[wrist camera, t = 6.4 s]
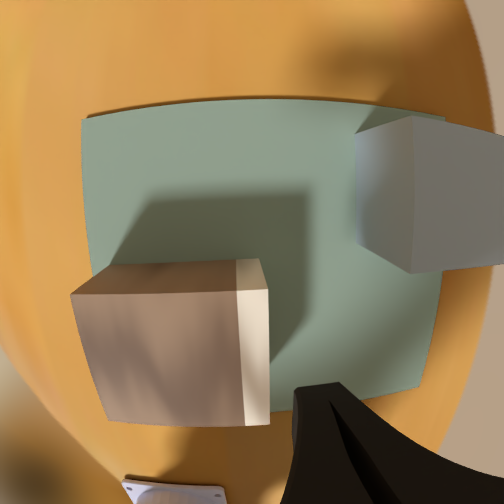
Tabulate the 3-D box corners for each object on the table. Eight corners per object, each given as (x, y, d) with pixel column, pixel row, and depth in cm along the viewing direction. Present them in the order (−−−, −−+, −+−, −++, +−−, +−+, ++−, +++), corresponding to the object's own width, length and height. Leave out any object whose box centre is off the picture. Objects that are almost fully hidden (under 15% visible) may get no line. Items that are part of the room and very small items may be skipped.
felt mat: (416, 384, 17) (419, 386, 16) (128, 408, 16) (127, 411, 16) (442, 117, 13) (445, 117, 13) (84, 120, 12) (81, 119, 12)
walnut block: (269, 424, 11) (108, 420, 11) (262, 371, 15) (131, 372, 15) (268, 289, 10) (70, 294, 10) (258, 258, 14) (109, 264, 14)
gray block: (439, 239, 14) (504, 263, 9) (355, 242, 14) (410, 274, 9) (440, 143, 13) (508, 137, 8) (354, 134, 13) (411, 115, 8)
